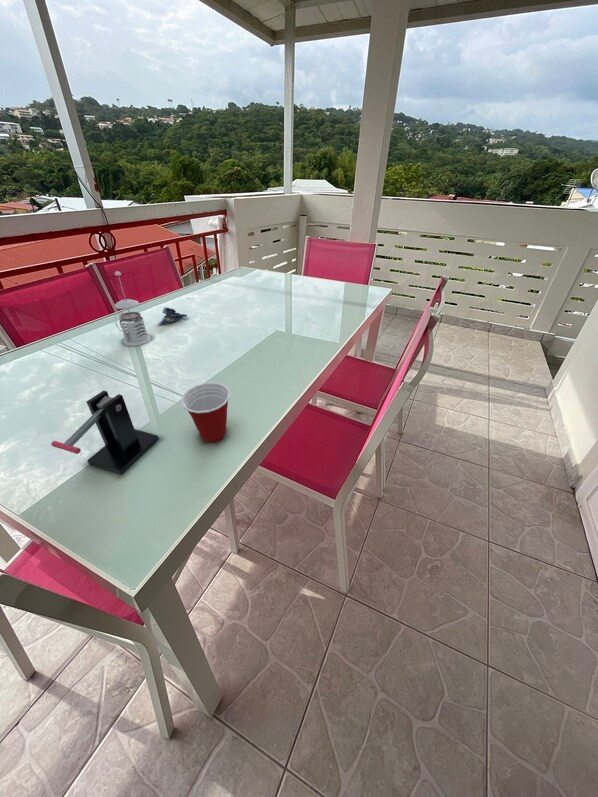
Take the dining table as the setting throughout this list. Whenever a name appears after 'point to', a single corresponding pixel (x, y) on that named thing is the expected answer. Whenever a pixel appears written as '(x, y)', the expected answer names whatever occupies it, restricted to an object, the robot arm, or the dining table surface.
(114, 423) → the bracket
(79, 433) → the lever
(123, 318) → the french press
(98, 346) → the dining table surface
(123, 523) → the dining table surface
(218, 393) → the plastic cup
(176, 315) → the snack package
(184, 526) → the dining table surface
